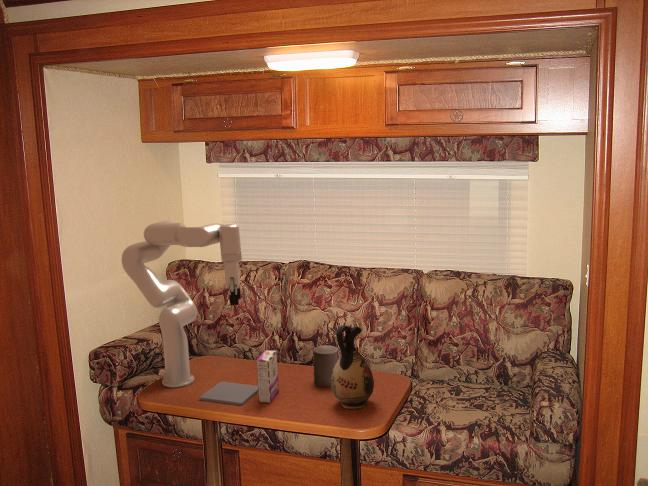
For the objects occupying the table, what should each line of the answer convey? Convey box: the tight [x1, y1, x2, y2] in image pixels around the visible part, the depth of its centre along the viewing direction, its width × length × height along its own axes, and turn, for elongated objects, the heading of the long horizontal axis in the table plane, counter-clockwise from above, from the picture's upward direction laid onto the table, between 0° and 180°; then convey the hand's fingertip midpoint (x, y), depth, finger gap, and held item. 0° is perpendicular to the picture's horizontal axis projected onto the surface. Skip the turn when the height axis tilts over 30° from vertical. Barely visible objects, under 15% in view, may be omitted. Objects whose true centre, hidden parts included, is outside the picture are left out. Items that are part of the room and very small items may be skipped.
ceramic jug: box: [330, 324, 375, 409], centre depth 218 cm, size 17×15×30 cm
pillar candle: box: [312, 345, 339, 388], centre depth 240 cm, size 10×10×15 cm
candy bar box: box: [255, 349, 280, 404], centre depth 228 cm, size 11×5×16 cm, turn 168°
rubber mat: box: [198, 381, 259, 406], centre depth 233 cm, size 18×16×1 cm
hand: (235, 301), depth 231 cm, fingers open, 9 cm apart
